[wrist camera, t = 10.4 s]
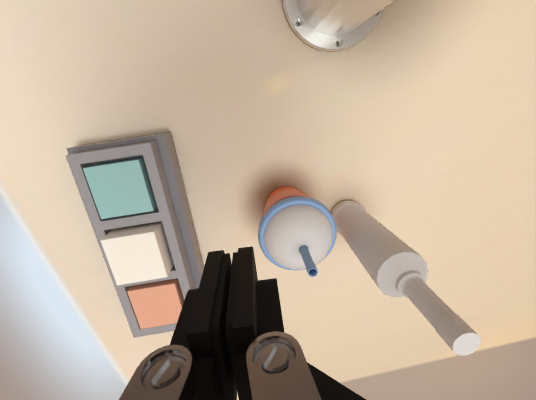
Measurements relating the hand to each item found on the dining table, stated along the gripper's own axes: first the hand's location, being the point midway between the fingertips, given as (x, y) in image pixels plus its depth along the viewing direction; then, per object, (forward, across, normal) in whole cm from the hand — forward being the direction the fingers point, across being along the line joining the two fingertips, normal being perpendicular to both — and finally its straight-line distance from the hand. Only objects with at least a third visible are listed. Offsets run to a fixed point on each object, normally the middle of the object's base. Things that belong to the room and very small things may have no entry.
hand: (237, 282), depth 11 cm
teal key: (+27, +16, +2) cm, 31 cm away
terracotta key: (+26, +15, +19) cm, 36 cm away
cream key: (+25, +15, +10) cm, 31 cm away
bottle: (+30, -14, +12) cm, 35 cm away
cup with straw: (+30, -5, +9) cm, 32 cm away
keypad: (+30, +15, +11) cm, 35 cm away
